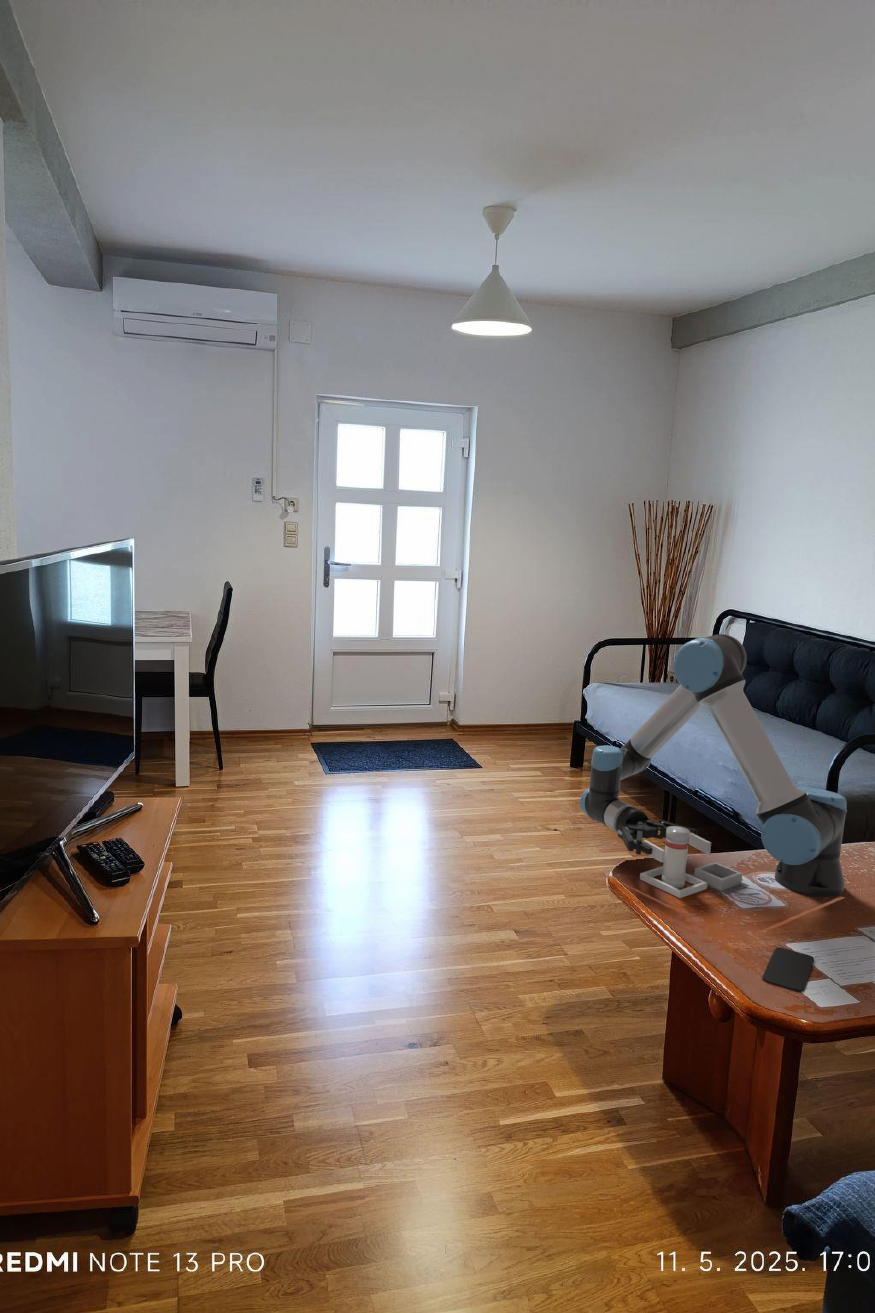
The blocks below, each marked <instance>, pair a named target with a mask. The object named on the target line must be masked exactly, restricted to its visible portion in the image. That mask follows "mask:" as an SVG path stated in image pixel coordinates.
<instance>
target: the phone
mask: <svg viewBox="0 0 875 1313" xmlns="http://www.w3.org/2000/svg"><path fill="white" fill-rule="evenodd" d="M814 964H815V958H814V956H812V955H810V954H806V953H803V952H799V951H795V950H793V949H788V948H784V947H780V946H779V947H778V946H777V947H775V949H774V950H773V952H772V954H771V957H770V960H769V961H768V964H767V967H766V968H765V971H764V973H763V975H762V981H763V982H764V983H767V984H769V985H772V986H773V985H774V986H777V987H780V988H783V989H787V990H791V991H794V992H797V993H802V992H804V991H805V988H806V985H807V983H808V980H809V977H810V975H811V971H812V969H813V966H814Z"/></svg>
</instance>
